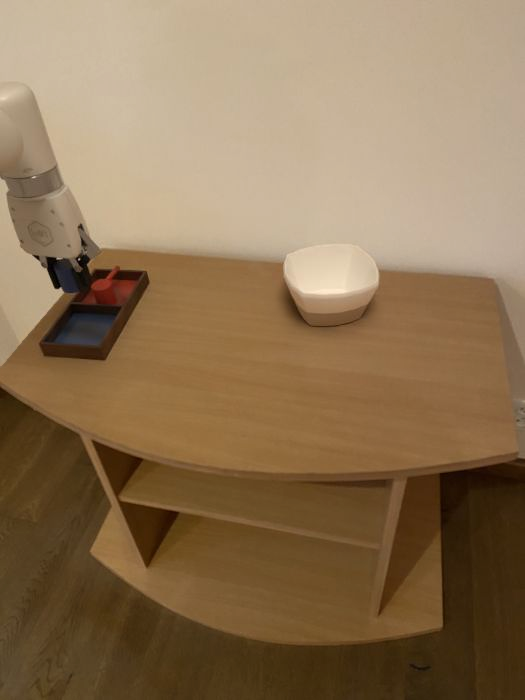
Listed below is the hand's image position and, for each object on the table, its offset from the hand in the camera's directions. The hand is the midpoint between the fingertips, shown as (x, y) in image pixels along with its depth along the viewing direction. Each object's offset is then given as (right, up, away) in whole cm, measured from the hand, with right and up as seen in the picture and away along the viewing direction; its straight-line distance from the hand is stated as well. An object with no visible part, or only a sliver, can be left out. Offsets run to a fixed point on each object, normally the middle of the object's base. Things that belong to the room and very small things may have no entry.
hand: (73, 285), depth 85 cm
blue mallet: (+1, +2, +2) cm, 3 cm away
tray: (-1, -4, +19) cm, 19 cm away
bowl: (+45, -3, +16) cm, 48 cm away
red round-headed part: (0, +1, +23) cm, 23 cm away
